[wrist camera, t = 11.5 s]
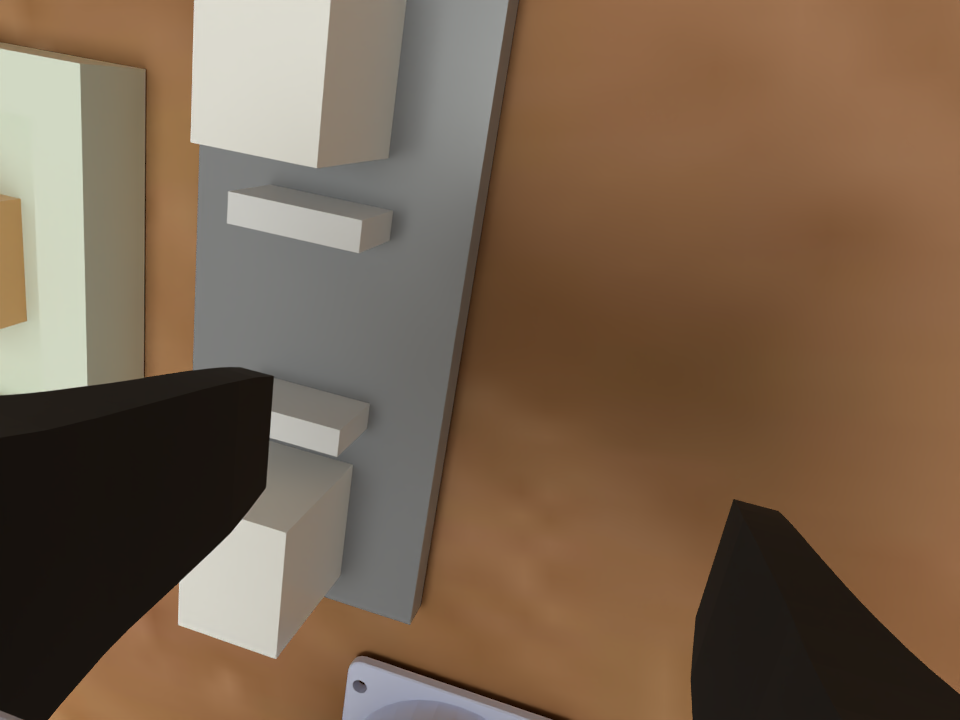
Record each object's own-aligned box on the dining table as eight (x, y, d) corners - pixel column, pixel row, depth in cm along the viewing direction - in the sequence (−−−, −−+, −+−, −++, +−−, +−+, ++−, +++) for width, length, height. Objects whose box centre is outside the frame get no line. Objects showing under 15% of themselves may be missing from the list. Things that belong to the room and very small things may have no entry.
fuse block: (420, 605, 25) (358, 717, 20) (205, 537, 26) (101, 626, 22) (524, -37, 18) (467, -89, 13) (229, -78, 20) (87, -137, 15)
